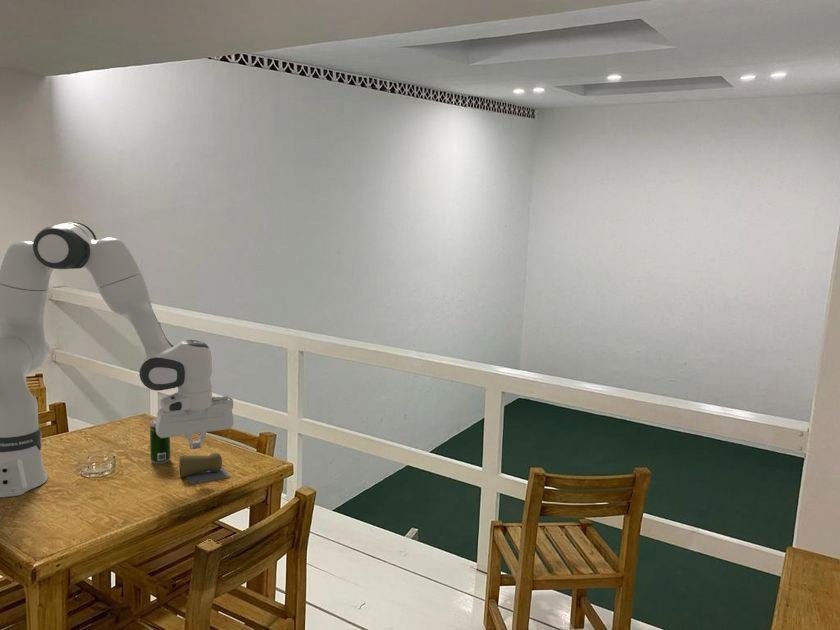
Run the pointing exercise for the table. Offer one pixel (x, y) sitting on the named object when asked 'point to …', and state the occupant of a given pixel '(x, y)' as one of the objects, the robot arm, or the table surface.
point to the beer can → (158, 446)
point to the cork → (199, 464)
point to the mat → (207, 476)
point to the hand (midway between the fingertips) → (195, 448)
